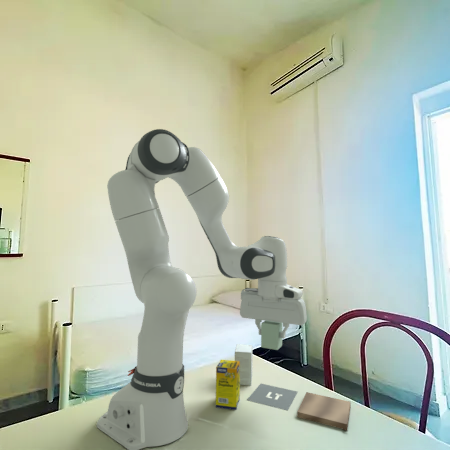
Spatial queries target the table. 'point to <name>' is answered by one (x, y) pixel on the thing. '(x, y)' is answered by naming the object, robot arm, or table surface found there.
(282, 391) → the gray tile
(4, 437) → the table surface
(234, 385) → the supplement box
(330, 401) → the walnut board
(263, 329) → the sage block
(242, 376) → the small box
